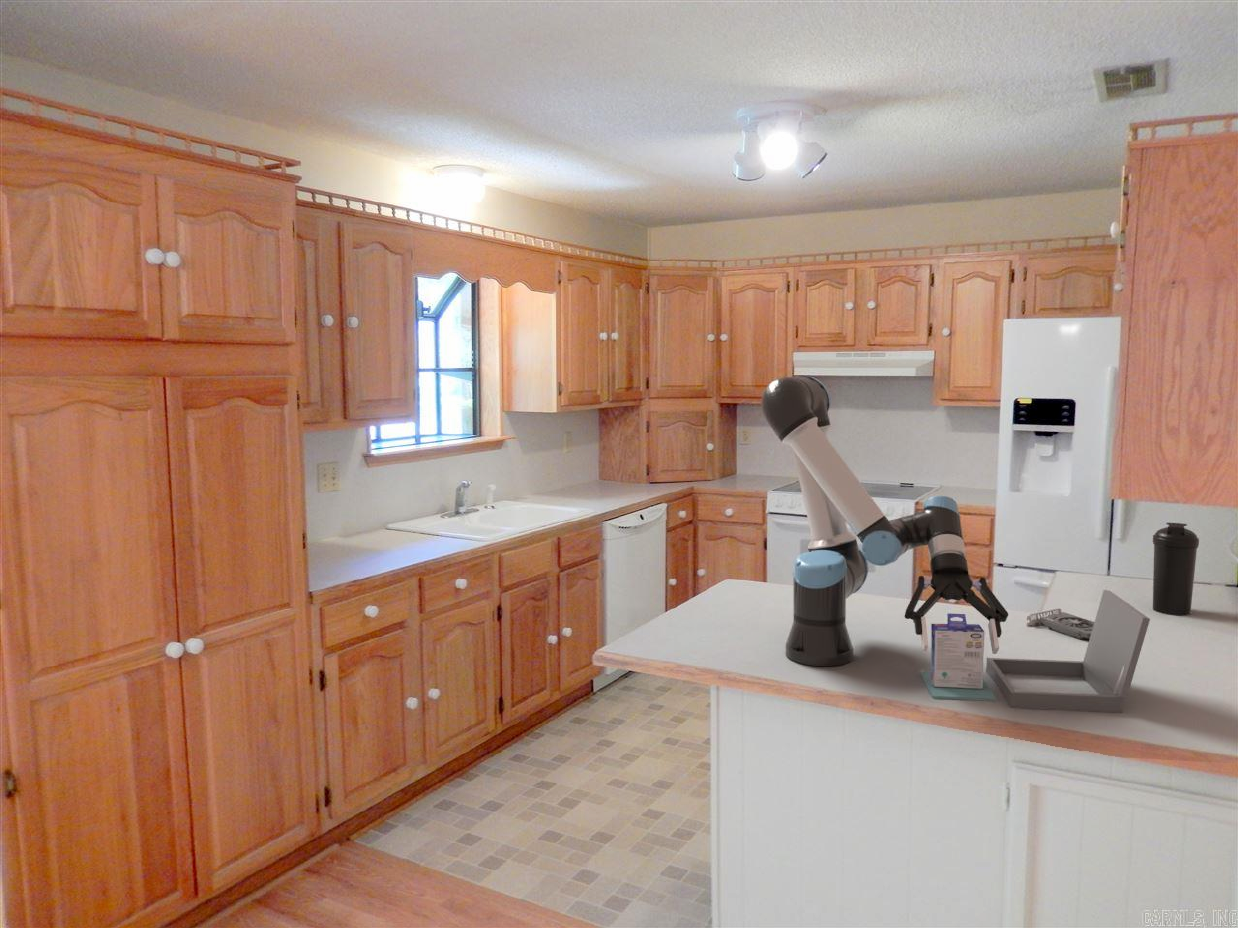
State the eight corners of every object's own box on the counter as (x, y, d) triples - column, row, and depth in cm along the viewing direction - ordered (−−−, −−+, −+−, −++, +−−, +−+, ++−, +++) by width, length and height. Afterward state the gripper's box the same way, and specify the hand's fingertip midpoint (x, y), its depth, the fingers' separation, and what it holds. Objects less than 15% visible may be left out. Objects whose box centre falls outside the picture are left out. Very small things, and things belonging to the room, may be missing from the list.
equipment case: (1010, 707, 172) (1014, 613, 169) (986, 671, 191) (989, 586, 189) (1144, 713, 168) (1150, 617, 165) (1105, 675, 187) (1109, 589, 185)
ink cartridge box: (978, 680, 185) (980, 612, 183) (984, 690, 179) (986, 620, 178) (928, 678, 187) (930, 611, 185) (933, 687, 181) (935, 619, 179)
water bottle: (1194, 608, 234) (1199, 523, 231) (1194, 618, 226) (1200, 529, 223) (1149, 603, 240) (1154, 519, 237) (1148, 612, 231) (1153, 526, 228)
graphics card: (1023, 613, 222) (1058, 606, 227) (1023, 628, 223) (1058, 620, 227) (1080, 633, 207) (1117, 625, 211) (1080, 648, 208) (1116, 640, 212)
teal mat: (932, 698, 177) (932, 695, 177) (921, 673, 191) (921, 671, 191) (996, 700, 175) (996, 698, 175) (979, 675, 189) (979, 673, 189)
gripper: (1005, 570, 193) (1021, 660, 180) (886, 567, 197) (894, 655, 185) (1012, 552, 187) (1030, 643, 175) (890, 549, 192) (898, 638, 179)
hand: (960, 649), depth 180 cm, fingers open, 13 cm apart
